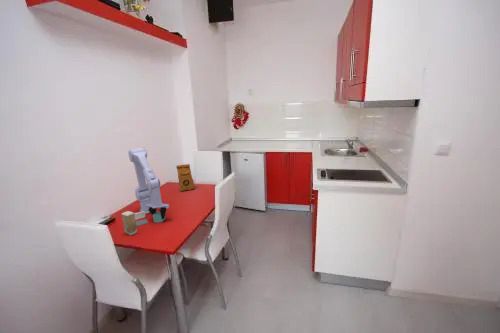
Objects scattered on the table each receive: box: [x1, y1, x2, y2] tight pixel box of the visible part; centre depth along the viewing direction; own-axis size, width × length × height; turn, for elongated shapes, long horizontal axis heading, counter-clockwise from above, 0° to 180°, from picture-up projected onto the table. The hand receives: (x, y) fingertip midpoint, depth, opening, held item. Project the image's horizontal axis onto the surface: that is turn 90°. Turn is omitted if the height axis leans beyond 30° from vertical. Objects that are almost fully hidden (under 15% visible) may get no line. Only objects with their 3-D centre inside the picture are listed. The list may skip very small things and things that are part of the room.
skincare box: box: [121, 210, 138, 236], centre depth 137 cm, size 6×4×12 cm
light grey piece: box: [134, 211, 146, 221], centre depth 150 cm, size 13×12×4 cm
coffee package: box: [175, 163, 195, 192], centre depth 203 cm, size 10×12×22 cm
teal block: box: [152, 210, 166, 223], centre depth 151 cm, size 5×5×5 cm
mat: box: [136, 218, 149, 227], centre depth 150 cm, size 7×7×1 cm
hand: (159, 218), depth 151 cm, fingers closed on teal block, 5 cm apart
